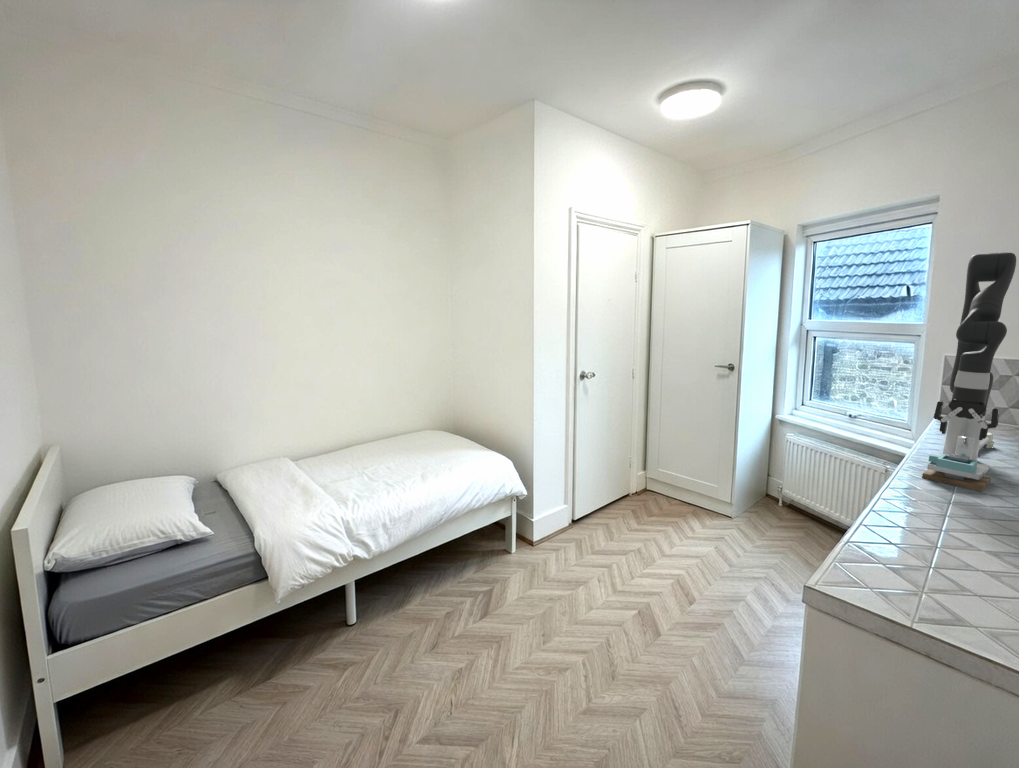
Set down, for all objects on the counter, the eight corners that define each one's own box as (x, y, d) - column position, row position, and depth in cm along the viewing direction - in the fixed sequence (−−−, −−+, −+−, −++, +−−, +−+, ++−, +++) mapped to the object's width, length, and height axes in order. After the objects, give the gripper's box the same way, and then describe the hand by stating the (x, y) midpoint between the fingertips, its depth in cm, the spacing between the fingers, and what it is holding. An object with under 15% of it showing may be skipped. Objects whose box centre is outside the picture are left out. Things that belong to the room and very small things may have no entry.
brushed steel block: (946, 474, 150) (950, 453, 149) (965, 478, 147) (969, 457, 146) (944, 476, 148) (948, 455, 147) (963, 481, 144) (967, 459, 143)
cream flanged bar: (959, 444, 178) (980, 427, 191) (956, 459, 180) (978, 442, 192) (977, 447, 174) (998, 430, 186) (975, 463, 176) (996, 446, 188)
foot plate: (932, 469, 159) (933, 465, 159) (990, 481, 148) (991, 477, 148) (921, 477, 151) (922, 473, 151) (981, 491, 140) (982, 486, 140)
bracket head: (932, 459, 155) (933, 452, 154) (976, 468, 146) (977, 460, 146) (925, 463, 150) (926, 456, 149) (970, 473, 141) (972, 465, 141)
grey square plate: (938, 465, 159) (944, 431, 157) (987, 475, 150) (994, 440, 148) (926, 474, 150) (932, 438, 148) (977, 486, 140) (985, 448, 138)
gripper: (1006, 388, 139) (996, 440, 142) (943, 381, 150) (934, 429, 153) (1002, 390, 135) (991, 444, 137) (937, 383, 146) (928, 433, 149)
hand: (961, 436), depth 145 cm, fingers open, 8 cm apart
